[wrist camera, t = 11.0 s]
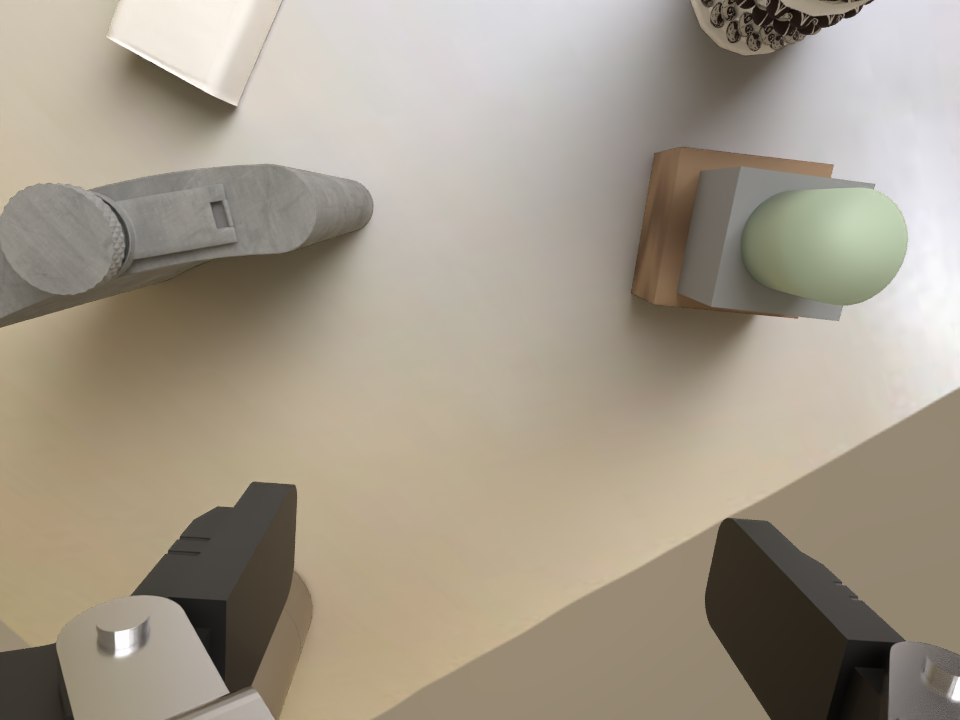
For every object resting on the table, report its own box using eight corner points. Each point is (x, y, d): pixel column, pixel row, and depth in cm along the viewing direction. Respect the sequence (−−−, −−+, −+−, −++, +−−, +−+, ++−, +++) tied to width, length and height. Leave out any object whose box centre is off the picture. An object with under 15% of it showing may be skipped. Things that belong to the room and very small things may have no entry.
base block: (758, 305, 42) (797, 318, 38) (630, 292, 42) (653, 304, 37) (787, 169, 40) (833, 164, 35) (653, 153, 40) (681, 146, 35)
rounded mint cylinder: (848, 196, 31) (921, 195, 26) (824, 295, 32) (889, 311, 27) (752, 184, 31) (808, 180, 26) (731, 284, 32) (780, 298, 27)
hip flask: (142, 286, 40) (-146, 368, 21) (117, 224, 39) (-211, 248, 20) (379, 224, 40) (313, 246, 20) (360, 159, 39) (272, 119, 19)
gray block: (788, 305, 37) (838, 321, 33) (676, 292, 37) (710, 306, 32) (817, 186, 36) (875, 184, 31) (700, 170, 35) (740, 166, 30)
